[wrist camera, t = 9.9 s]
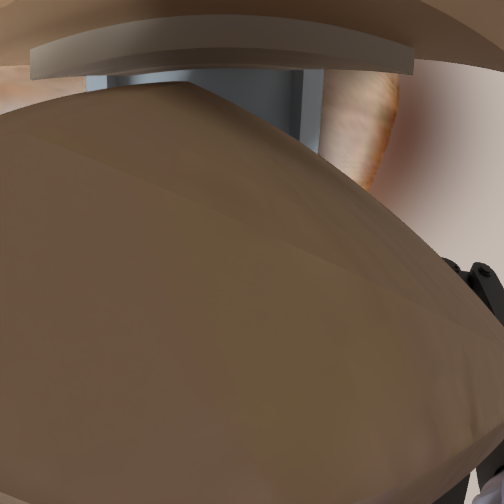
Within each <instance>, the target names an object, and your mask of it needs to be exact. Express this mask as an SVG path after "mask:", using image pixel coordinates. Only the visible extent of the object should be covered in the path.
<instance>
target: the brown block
mask: <svg viewBox="0 0 504 504" xmlns="http://www.w3.org/2000/svg"><path fill="white" fill-rule="evenodd" d="M414 59H424V60H435V61H444V62H451V63H458V64H465V65H471V66H477V67H482V68H487V69H492V70H496V71H500V72H504V0H0V66H12V65H30V78H31V80H38V79H47V78H58V77H73V76H104V75H115V76H134V75H141V74H149V73H157V72H167V71H178V70H193V69H218V68H247V69H273V70H309V69H338V70H363V71H378V72H389V73H398V74H407V75H413V66H414Z"/></svg>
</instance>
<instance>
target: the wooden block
mask: <svg viewBox="0 0 504 504" xmlns="http://www.w3.org/2000/svg"><path fill="white" fill-rule="evenodd" d="M503 440H504V327H503V325H502V324H501V323H500V322H499V321H498V319H497V318H496V317H495V316H494V315H493V313H492V312H491V311H490V310H489V309H488V307H487V306H486V305H485V304H484V303H483V302H482V300H481V299H480V298H479V297H478V296H477V295H476V294H475V293H474V292H473V290H472V289H471V288H470V287H469V286H468V285H467V284H466V283H465V282H464V281H463V280H462V279H461V277H460V276H459V275H458V274H457V273H456V272H455V271H454V270H453V269H452V268H451V267H450V266H449V265H448V264H447V263H446V262H445V261H444V260H443V259H442V258H441V257H440V256H439V255H438V254H437V253H436V252H435V251H434V250H433V249H432V248H430V246H429V245H427V244H426V243H425V242H424V241H423V240H422V239H421V238H420V237H419V236H418V235H417V234H416V233H415V232H413V230H411V229H410V228H409V227H408V226H407V225H406V224H405V223H404V222H402V221H401V220H400V219H399V218H398V217H397V216H396V215H395V214H393V213H392V212H391V211H390V210H389V209H388V208H386V207H385V206H384V205H383V204H382V203H380V202H379V201H378V200H377V199H376V198H374V197H373V196H372V195H371V194H369V193H368V192H367V191H366V190H364V189H363V188H362V187H361V186H359V185H358V184H357V183H356V182H354V181H353V180H352V179H351V178H349V177H348V176H347V175H345V174H344V173H343V172H341V171H340V170H339V169H337V168H336V167H335V166H333V165H332V164H331V163H329V162H328V161H326V160H325V159H324V158H322V157H321V156H320V155H318V154H317V153H315V152H314V151H313V150H311V149H310V148H308V147H307V146H305V145H304V144H302V143H301V142H299V141H298V140H296V139H295V138H293V137H292V136H290V135H288V134H287V133H285V132H283V131H282V130H280V129H278V128H277V127H275V126H273V125H271V124H270V123H268V122H266V121H265V120H263V119H261V118H259V117H257V116H256V115H254V114H252V113H250V112H248V111H247V110H245V109H243V108H241V107H239V106H237V105H235V104H234V103H232V102H230V101H228V100H226V99H224V98H222V97H220V96H218V95H216V94H214V93H212V92H210V91H208V90H206V89H204V88H202V87H200V86H197V85H195V84H193V83H191V82H187V81H169V82H156V83H145V84H136V85H127V86H120V87H113V88H106V89H100V90H94V91H89V92H84V93H79V94H74V95H69V96H65V97H60V98H56V99H52V100H48V101H44V102H41V103H37V104H34V105H30V106H27V107H23V108H20V109H17V110H14V111H11V112H8V113H5V114H2V115H0V504H432V503H433V502H435V501H436V500H437V499H439V498H440V497H441V496H443V495H444V494H445V493H446V492H448V491H449V490H450V489H451V488H453V487H454V486H455V485H456V484H458V483H459V482H460V481H461V480H462V479H463V478H465V477H466V476H467V475H468V474H469V473H470V472H471V471H472V470H473V469H475V468H476V467H477V466H478V465H479V464H480V463H481V462H482V461H483V460H484V459H485V458H486V457H487V456H488V455H489V454H490V453H491V452H492V451H493V450H494V449H495V448H496V447H497V446H498V445H499V444H500V443H501V442H502V441H503Z"/></svg>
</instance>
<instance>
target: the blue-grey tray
mask: <svg viewBox="0 0 504 504" xmlns="http://www.w3.org/2000/svg"><path fill="white" fill-rule="evenodd" d="M169 81H187V82H191V83H193V84H195V85H197V86H200V87H202V88H204V89H206V90H208V91H210V92H212V93H214V94H216V95H218V96H220V97H222V98H224V99H226V100H228V101H230V102H232V103H234V104H235V105H237V106H239V107H241V108H243V109H245V110H247V111H248V112H250V113H252V114H254V115H256V116H257V117H259V118H261V119H263V120H265V121H266V122H268V123H270V124H271V125H273V126H275V127H277V128H278V129H280V130H282V131H283V132H285V133H287V134H288V135H290V136H292V137H293V138H295V139H296V140H298V141H299V142H301V143H302V144H304V145H305V146H307V147H308V148H310V149H311V150H313V151H314V152H315V153H317V154H318V146H319V135H320V123H321V111H322V97H323V82H324V69H309V70H273V69H247V68H218V69H193V70H178V71H167V72H157V73H149V74H141V75H134V76H115V75H104V76H86V89H87V92H89V91H94V90H100V89H106V88H113V87H120V86H127V85H136V84H145V83H156V82H169Z"/></svg>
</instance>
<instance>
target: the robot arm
mask: <svg viewBox="0 0 504 504" xmlns="http://www.w3.org/2000/svg"><path fill="white" fill-rule="evenodd" d="M441 258H442V257H441ZM442 259H443V260H444V261H445V262H446V263H447V264H448V265H449V266H450V267H451V268H452V269H453V270H454V271H455V272H456V273H457V274H458V275H459V276H460V277H461V279H462V280H463V281H464V282H465V283H466V284H467V285H468V286H469V287H470V288H471V289H472V290H473V292H474V293H475V294H476V295H477V296H478V297H479V298H480V299H481V300H482V302H483V303H484V304H485V305H486V306H487V307H488V309H489V310H490V311H491V312H492V313H493V315H494V316H495V317H496V318H497V319H498V321H499V322H500V323H501V324H502V325H503V327H504V288H503V286H502V284H501V283H500V281H499V279H498V277H497V275H496V274H495V272H494V271H493V270H492V269H491V268H490V267H489V266H488V265H486V264H484V263H480V262H475V263H473V266H472V268H471V270H470V272H466V271H461V270H460V268H459V266H457V264H456V263H454V262H453V261H451V260H449V259H446V258H442ZM476 472H477V478H478V484H479V488H480V494H479V495H477V496H476V497H475V498H474V499H473V502H472V504H504V440H503V441H502V442H501V443H500V444H499V445H498V446H497V447H496V448H495V449H494V450H493V451H492V452H491V453H490V454H489V455H488V456H487V457H486V458H485V459H484V460H483V461H482V462H481V463H480V464H479V465H478V466H477V467H476ZM469 478H470V473H469V474H468V475H467V476H466V477H465V478H463V479H462V480H461V481H460V482H459V483H458V484H456V485H455V486H454V487H453V488H451V489H450V490H449V491H448V492H446V493H445V494H444V495H443V496H441V497H440V498H439V499H437V500H436V501H435V502H433V503H432V504H464V500H465V496H466V492H467V486H468V483H469Z"/></svg>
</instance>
